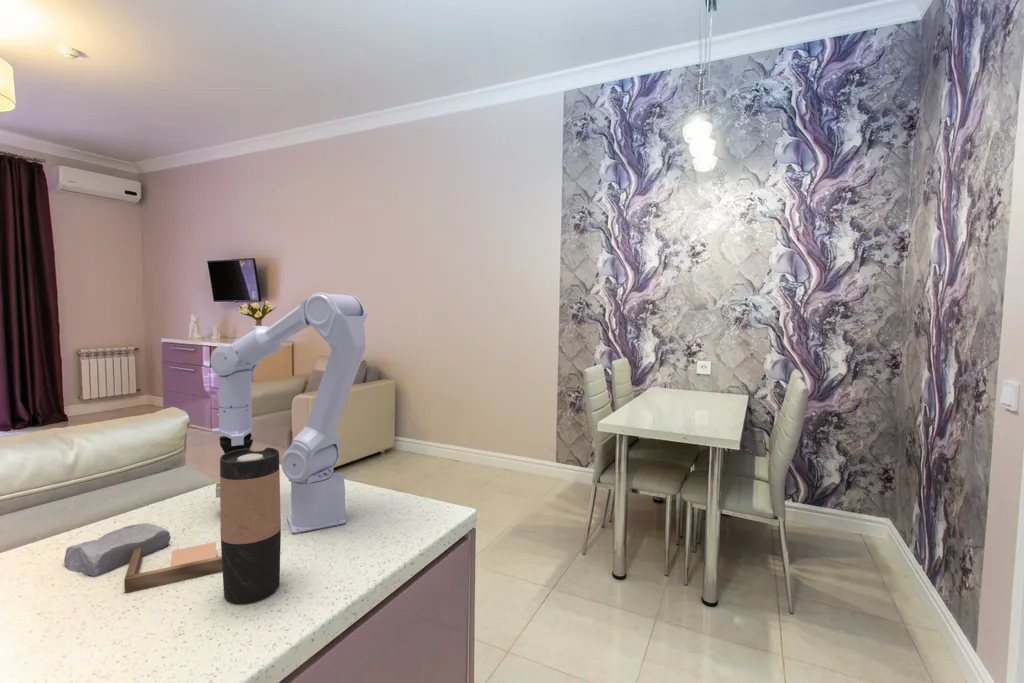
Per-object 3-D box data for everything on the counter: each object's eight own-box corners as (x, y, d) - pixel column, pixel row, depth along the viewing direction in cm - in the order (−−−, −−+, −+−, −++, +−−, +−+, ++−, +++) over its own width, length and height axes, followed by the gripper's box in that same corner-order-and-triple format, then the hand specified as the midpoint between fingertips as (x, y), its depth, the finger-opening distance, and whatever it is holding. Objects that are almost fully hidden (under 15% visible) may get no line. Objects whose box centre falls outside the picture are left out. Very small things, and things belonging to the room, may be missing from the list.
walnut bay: (247, 538, 87) (247, 527, 87) (251, 564, 78) (251, 552, 78) (134, 560, 79) (134, 548, 79) (124, 593, 70) (124, 579, 70)
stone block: (57, 579, 77) (96, 579, 74) (53, 548, 77) (92, 547, 74) (138, 548, 88) (176, 547, 85) (134, 521, 88) (172, 519, 85)
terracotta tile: (216, 553, 83) (215, 541, 83) (216, 569, 78) (216, 557, 78) (172, 562, 80) (172, 550, 80) (170, 580, 75) (169, 567, 74)
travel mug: (240, 612, 66) (238, 465, 65) (210, 594, 70) (207, 456, 69) (292, 586, 73) (291, 452, 71) (262, 570, 77) (260, 444, 76)
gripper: (211, 401, 102) (213, 465, 103) (211, 414, 90) (213, 487, 91) (250, 398, 106) (251, 460, 107) (255, 410, 93) (256, 481, 94)
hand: (236, 472), depth 99 cm, fingers closed on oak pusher, 2 cm apart
